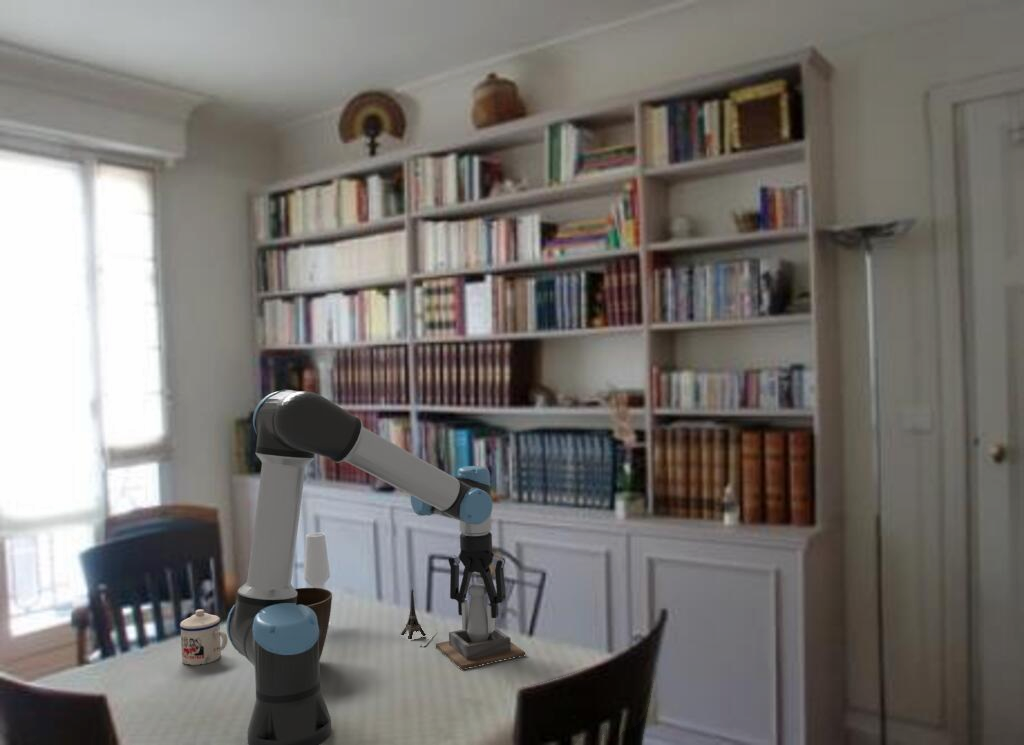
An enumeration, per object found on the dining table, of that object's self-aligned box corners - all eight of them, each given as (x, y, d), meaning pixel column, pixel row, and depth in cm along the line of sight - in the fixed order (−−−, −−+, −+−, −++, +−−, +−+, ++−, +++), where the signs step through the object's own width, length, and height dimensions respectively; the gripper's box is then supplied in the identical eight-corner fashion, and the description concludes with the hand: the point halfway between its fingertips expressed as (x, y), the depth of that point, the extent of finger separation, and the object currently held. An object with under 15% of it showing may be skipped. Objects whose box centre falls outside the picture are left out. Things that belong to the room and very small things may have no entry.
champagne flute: (324, 618, 220) (321, 530, 220) (336, 624, 215) (332, 534, 214) (301, 624, 216) (297, 534, 215) (312, 630, 211) (309, 538, 210)
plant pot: (311, 682, 177) (308, 609, 177) (253, 675, 182) (251, 604, 182) (346, 657, 192) (344, 589, 191) (292, 651, 196) (289, 585, 196)
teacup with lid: (172, 663, 191) (170, 614, 190) (199, 650, 199) (197, 603, 199) (213, 669, 187) (211, 619, 186) (240, 655, 195) (238, 606, 195)
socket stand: (525, 656, 189) (524, 639, 188) (461, 670, 182) (460, 652, 181) (496, 635, 203) (495, 619, 203) (435, 647, 196) (435, 631, 196)
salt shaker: (462, 641, 191) (460, 586, 191) (474, 634, 196) (472, 580, 196) (483, 645, 188) (482, 589, 188) (495, 637, 193) (494, 583, 193)
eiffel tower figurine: (426, 650, 196) (424, 595, 196) (385, 648, 198) (384, 594, 198) (442, 628, 211) (440, 577, 211) (404, 627, 213) (403, 576, 212)
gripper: (518, 530, 192) (521, 628, 193) (445, 527, 198) (448, 621, 199) (508, 537, 185) (511, 638, 185) (432, 534, 191) (435, 631, 192)
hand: (478, 629), depth 192 cm, fingers closed on salt shaker, 6 cm apart
